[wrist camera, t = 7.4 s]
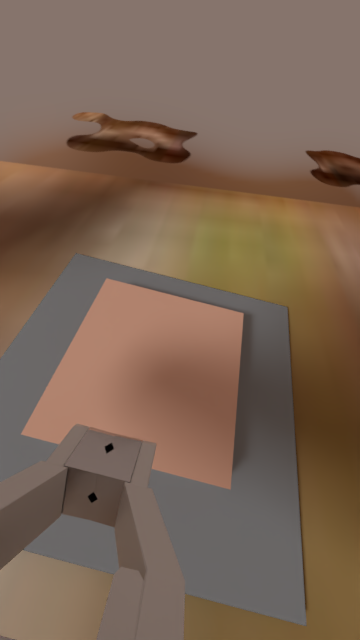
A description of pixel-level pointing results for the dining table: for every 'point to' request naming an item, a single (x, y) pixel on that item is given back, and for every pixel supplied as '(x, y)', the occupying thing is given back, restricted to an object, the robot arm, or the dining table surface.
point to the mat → (171, 490)
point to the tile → (151, 380)
